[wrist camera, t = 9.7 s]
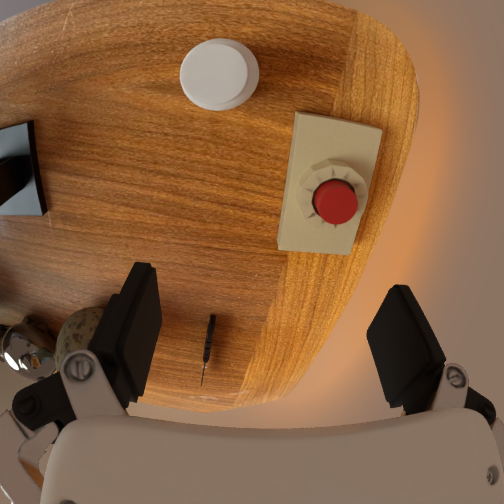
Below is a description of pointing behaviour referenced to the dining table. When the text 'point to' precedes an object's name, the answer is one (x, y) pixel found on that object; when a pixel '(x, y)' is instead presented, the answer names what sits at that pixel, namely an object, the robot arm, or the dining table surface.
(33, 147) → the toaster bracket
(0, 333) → the seashell
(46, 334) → the piggy bank
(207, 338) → the knife
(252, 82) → the supplement bottle
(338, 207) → the button
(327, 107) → the dining table surface
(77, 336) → the decorative egg
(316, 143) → the power block
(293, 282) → the dining table surface
